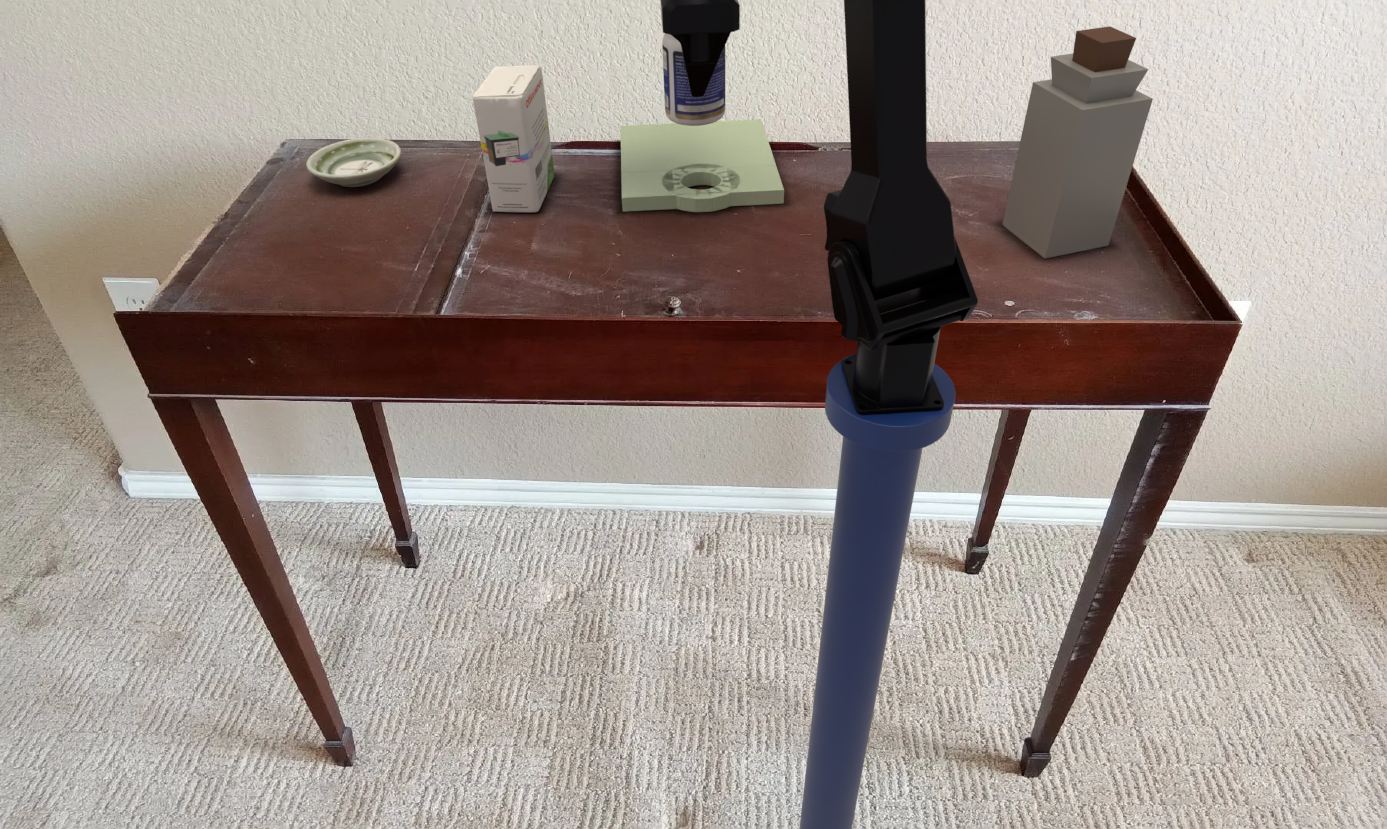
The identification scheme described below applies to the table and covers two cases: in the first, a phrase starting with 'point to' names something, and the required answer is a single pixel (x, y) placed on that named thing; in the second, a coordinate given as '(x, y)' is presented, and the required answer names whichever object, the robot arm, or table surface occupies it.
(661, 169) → the plate
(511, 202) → the ink box
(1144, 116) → the perfume bottle
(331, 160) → the saucer
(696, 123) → the pill bottle
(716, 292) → the table surface
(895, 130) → the robot arm
